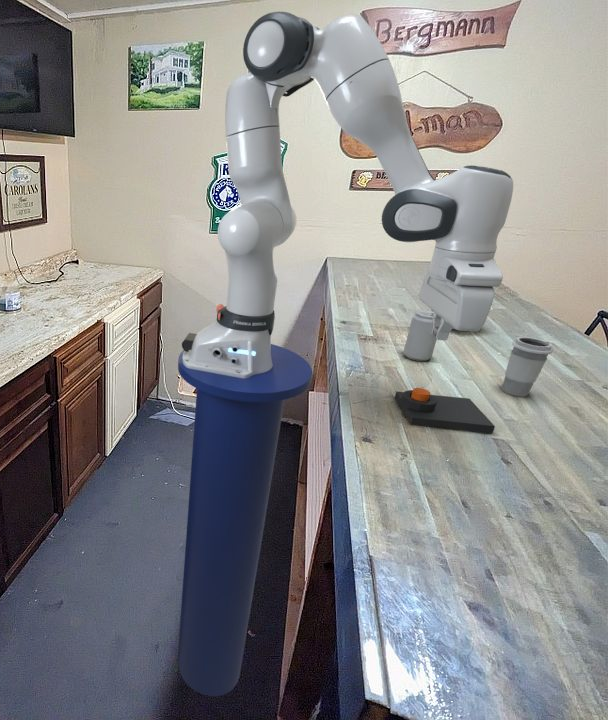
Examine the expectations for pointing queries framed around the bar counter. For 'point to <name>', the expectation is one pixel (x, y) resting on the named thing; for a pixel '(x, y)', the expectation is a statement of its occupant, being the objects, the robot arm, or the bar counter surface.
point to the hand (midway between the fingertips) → (438, 337)
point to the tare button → (420, 394)
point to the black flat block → (444, 413)
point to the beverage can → (420, 337)
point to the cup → (525, 364)
